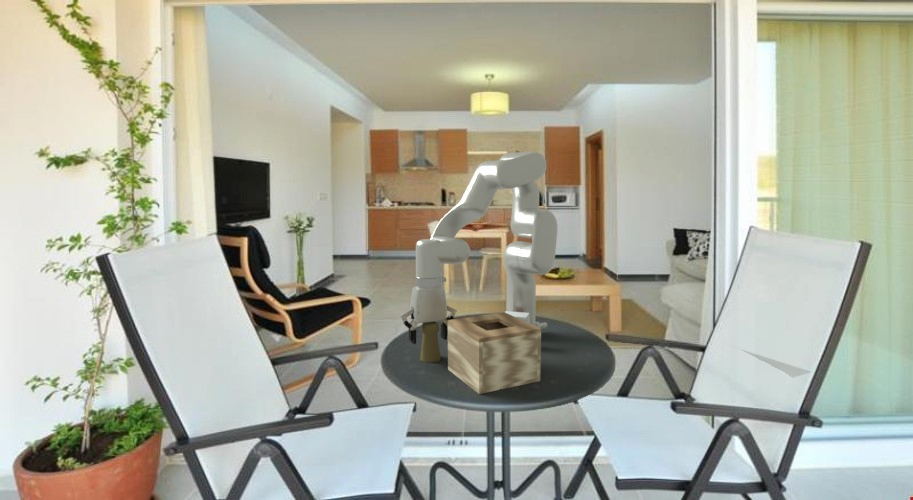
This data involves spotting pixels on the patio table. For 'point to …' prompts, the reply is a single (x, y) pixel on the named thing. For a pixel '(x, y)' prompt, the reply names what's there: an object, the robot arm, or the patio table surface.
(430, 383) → the patio table surface
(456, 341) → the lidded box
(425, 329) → the cork
